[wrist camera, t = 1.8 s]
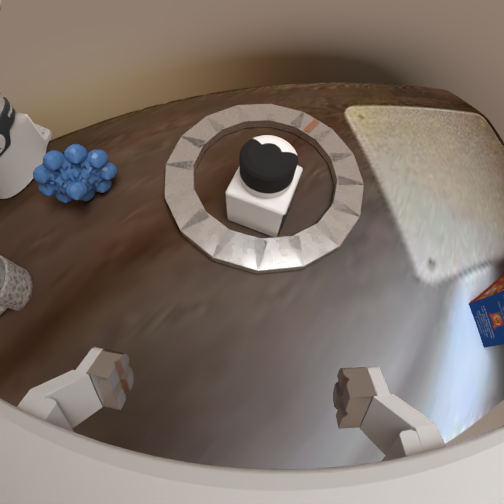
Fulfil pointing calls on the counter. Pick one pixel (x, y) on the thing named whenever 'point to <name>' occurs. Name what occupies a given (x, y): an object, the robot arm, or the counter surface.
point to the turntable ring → (248, 247)
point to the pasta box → (490, 313)
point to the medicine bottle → (263, 185)
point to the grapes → (74, 174)
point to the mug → (14, 286)
